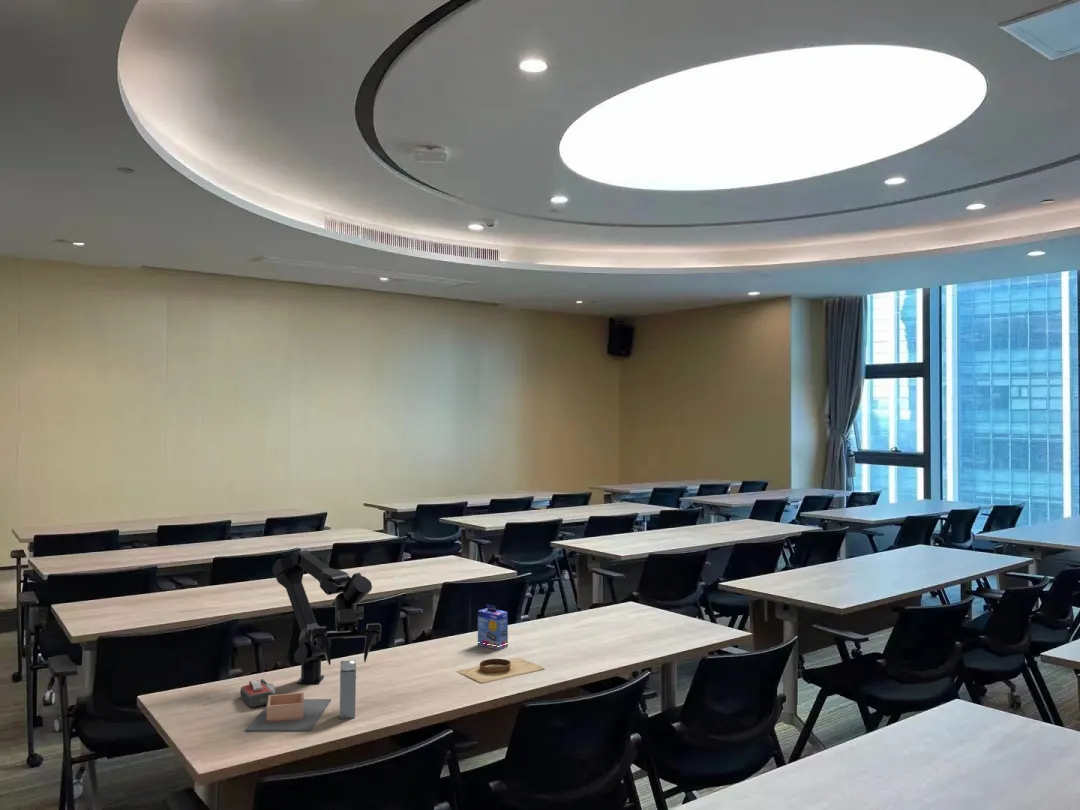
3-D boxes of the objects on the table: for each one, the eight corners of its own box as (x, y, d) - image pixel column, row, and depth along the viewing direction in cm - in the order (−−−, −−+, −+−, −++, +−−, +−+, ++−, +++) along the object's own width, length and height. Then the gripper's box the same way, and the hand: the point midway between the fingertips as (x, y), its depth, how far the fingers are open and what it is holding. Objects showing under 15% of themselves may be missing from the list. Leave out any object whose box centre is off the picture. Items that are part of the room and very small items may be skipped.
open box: (268, 710, 204) (268, 695, 204) (303, 707, 207) (303, 692, 207) (266, 722, 196) (266, 706, 196) (303, 719, 198) (303, 703, 198)
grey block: (339, 714, 203) (340, 659, 203) (354, 713, 204) (355, 658, 204) (339, 719, 200) (341, 663, 200) (355, 717, 201) (356, 662, 201)
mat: (272, 700, 213) (272, 699, 213) (331, 700, 213) (331, 699, 214) (244, 731, 191) (244, 729, 191) (310, 731, 192) (310, 729, 192)
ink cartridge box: (476, 645, 270) (476, 603, 271) (486, 642, 275) (487, 601, 275) (498, 650, 265) (498, 607, 265) (508, 646, 269) (508, 604, 270)
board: (479, 686, 228) (480, 675, 228) (452, 673, 240) (453, 663, 240) (546, 671, 244) (546, 661, 244) (517, 660, 256) (517, 650, 256)
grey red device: (283, 702, 210) (265, 684, 227) (283, 685, 210) (265, 669, 227) (249, 709, 205) (234, 690, 222) (249, 692, 205) (233, 675, 222)
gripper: (312, 598, 211) (312, 649, 200) (381, 594, 216) (385, 644, 205) (311, 620, 218) (311, 671, 207) (378, 616, 224) (381, 665, 213)
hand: (347, 662), depth 208 cm, fingers open, 9 cm apart
